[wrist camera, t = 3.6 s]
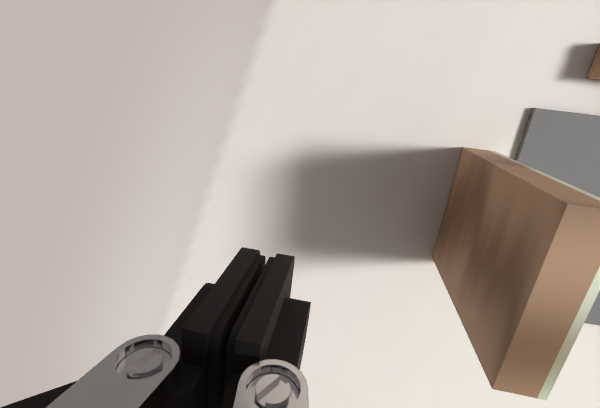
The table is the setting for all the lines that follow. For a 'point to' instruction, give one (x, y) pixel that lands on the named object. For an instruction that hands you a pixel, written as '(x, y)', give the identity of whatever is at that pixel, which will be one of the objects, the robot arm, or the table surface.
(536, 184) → the brown wooden block
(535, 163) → the mat
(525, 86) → the table surface
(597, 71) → the turner
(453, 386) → the table surface
